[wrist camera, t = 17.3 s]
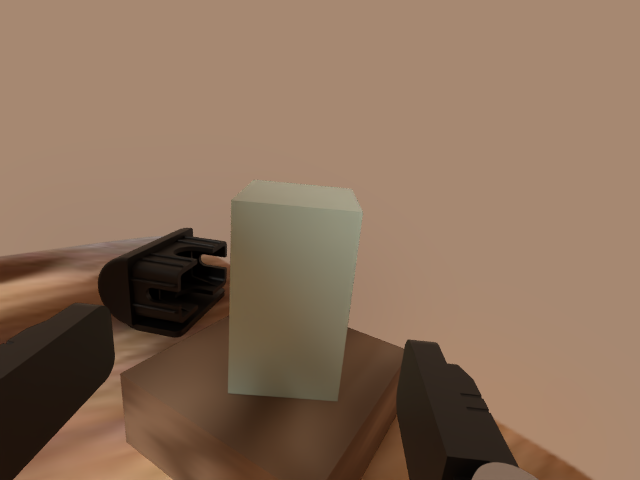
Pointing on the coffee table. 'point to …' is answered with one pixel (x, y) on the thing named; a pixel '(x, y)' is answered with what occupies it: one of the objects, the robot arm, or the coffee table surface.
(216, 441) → the walnut box
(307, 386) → the tall sage green block
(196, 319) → the end cap
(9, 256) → the coffee table surface
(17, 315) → the coffee table surface
